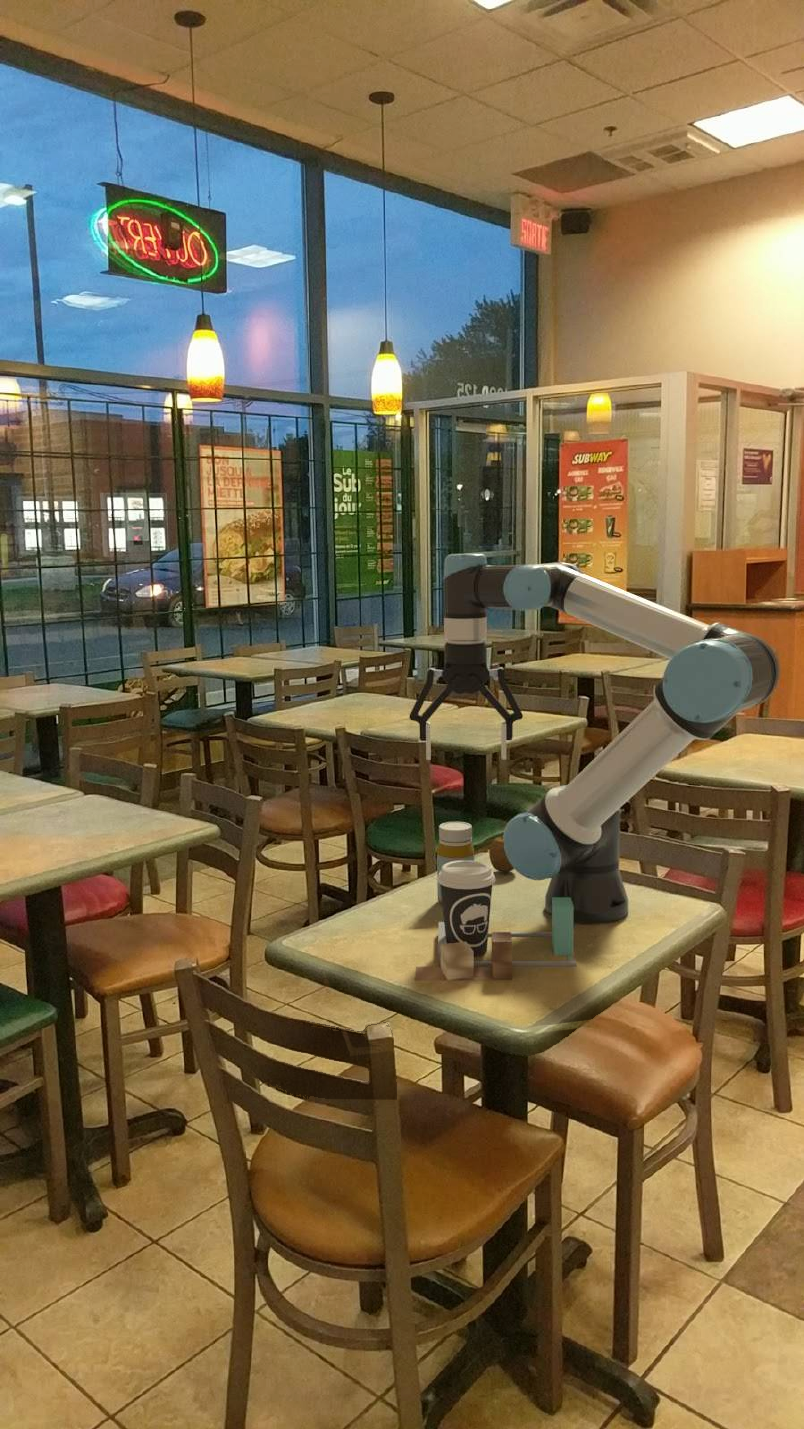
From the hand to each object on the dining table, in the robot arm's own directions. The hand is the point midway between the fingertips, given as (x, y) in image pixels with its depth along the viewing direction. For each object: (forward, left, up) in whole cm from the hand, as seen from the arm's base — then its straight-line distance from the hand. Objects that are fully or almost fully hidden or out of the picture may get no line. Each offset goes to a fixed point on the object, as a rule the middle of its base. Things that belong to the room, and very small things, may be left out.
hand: (466, 758), depth 191 cm
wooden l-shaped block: (+1, +31, -29) cm, 42 cm away
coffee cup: (0, +21, -29) cm, 36 cm away
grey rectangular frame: (-6, +21, -29) cm, 36 cm away
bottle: (+2, -4, -29) cm, 29 cm away
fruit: (-8, -22, -29) cm, 37 cm away
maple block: (+2, +31, -28) cm, 42 cm away
